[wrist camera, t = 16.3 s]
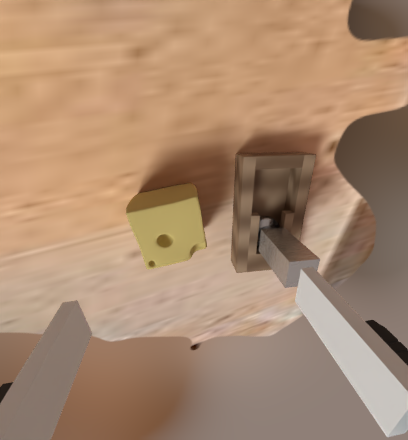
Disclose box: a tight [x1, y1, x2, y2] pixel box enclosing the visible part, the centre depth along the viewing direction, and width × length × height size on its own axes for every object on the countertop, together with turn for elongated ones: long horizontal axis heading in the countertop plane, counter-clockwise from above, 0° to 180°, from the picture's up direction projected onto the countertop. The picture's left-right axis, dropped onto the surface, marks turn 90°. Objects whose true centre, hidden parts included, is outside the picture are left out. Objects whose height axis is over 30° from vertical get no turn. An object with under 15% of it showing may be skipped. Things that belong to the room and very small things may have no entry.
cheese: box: [126, 183, 207, 269], centre depth 34 cm, size 10×11×10 cm
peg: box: [257, 216, 320, 288], centre depth 35 cm, size 6×6×14 cm
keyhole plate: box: [231, 152, 316, 273], centre depth 39 cm, size 22×12×4 cm, turn 1°
